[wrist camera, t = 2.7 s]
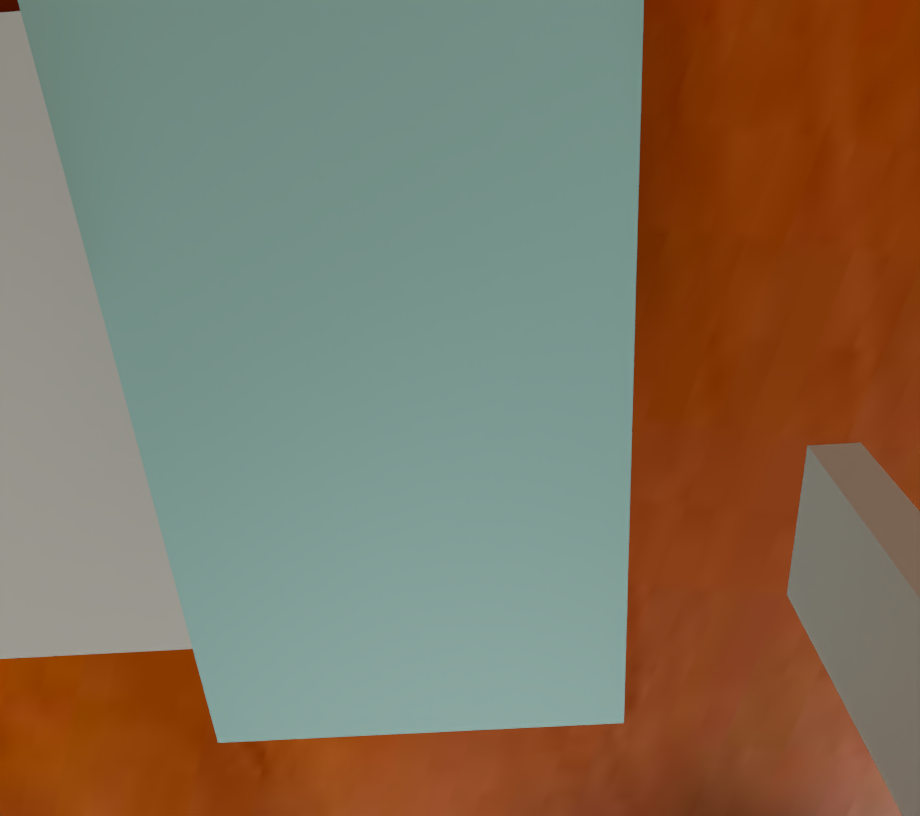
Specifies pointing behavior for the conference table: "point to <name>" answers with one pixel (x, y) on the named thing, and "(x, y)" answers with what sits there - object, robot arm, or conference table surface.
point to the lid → (371, 340)
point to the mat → (64, 419)
